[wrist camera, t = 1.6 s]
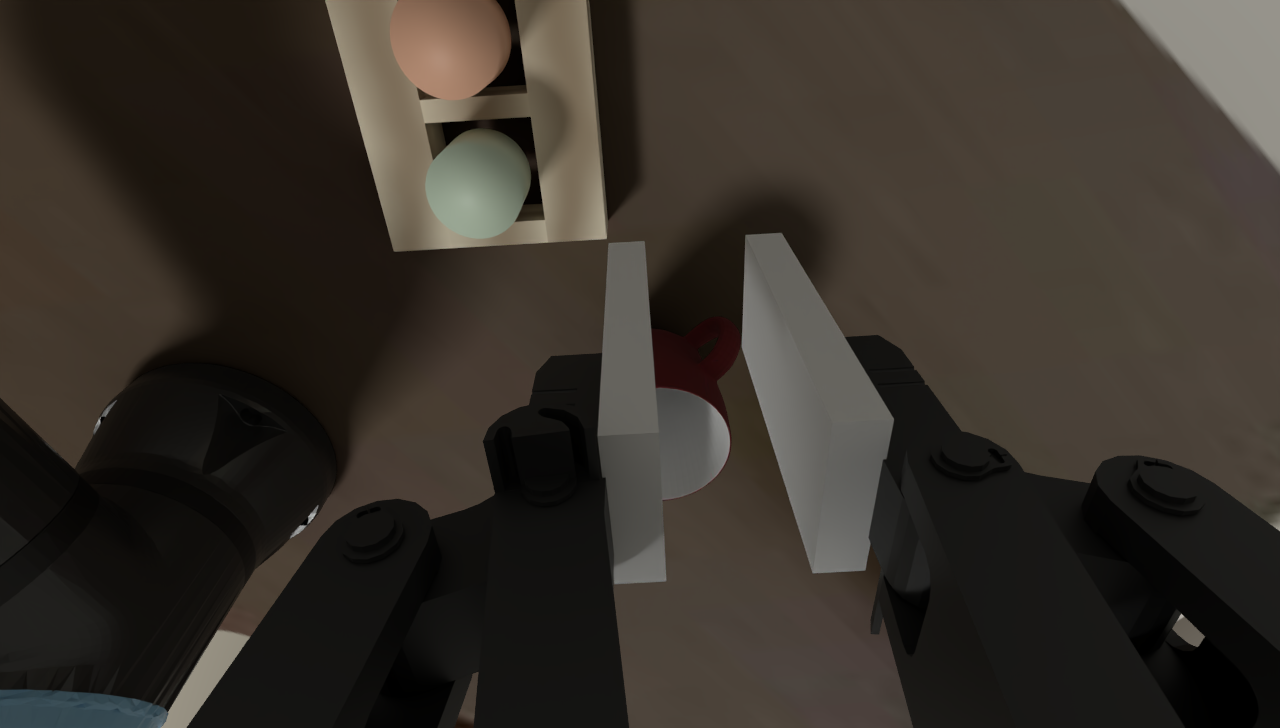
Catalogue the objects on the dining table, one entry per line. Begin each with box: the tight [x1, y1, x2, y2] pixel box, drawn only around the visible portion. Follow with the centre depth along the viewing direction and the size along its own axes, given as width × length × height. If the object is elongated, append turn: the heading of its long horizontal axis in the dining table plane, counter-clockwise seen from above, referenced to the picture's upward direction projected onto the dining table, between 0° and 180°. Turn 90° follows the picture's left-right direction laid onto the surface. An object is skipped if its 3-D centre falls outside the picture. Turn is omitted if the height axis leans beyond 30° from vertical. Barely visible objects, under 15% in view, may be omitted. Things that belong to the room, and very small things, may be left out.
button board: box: [325, 0, 608, 252], centre depth 32 cm, size 12×21×3 cm, turn 3°
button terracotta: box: [390, 0, 511, 100], centre depth 29 cm, size 5×5×4 cm
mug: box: [651, 316, 741, 501], centre depth 38 cm, size 11×8×10 cm
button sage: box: [425, 128, 531, 239], centre depth 32 cm, size 5×5×4 cm
